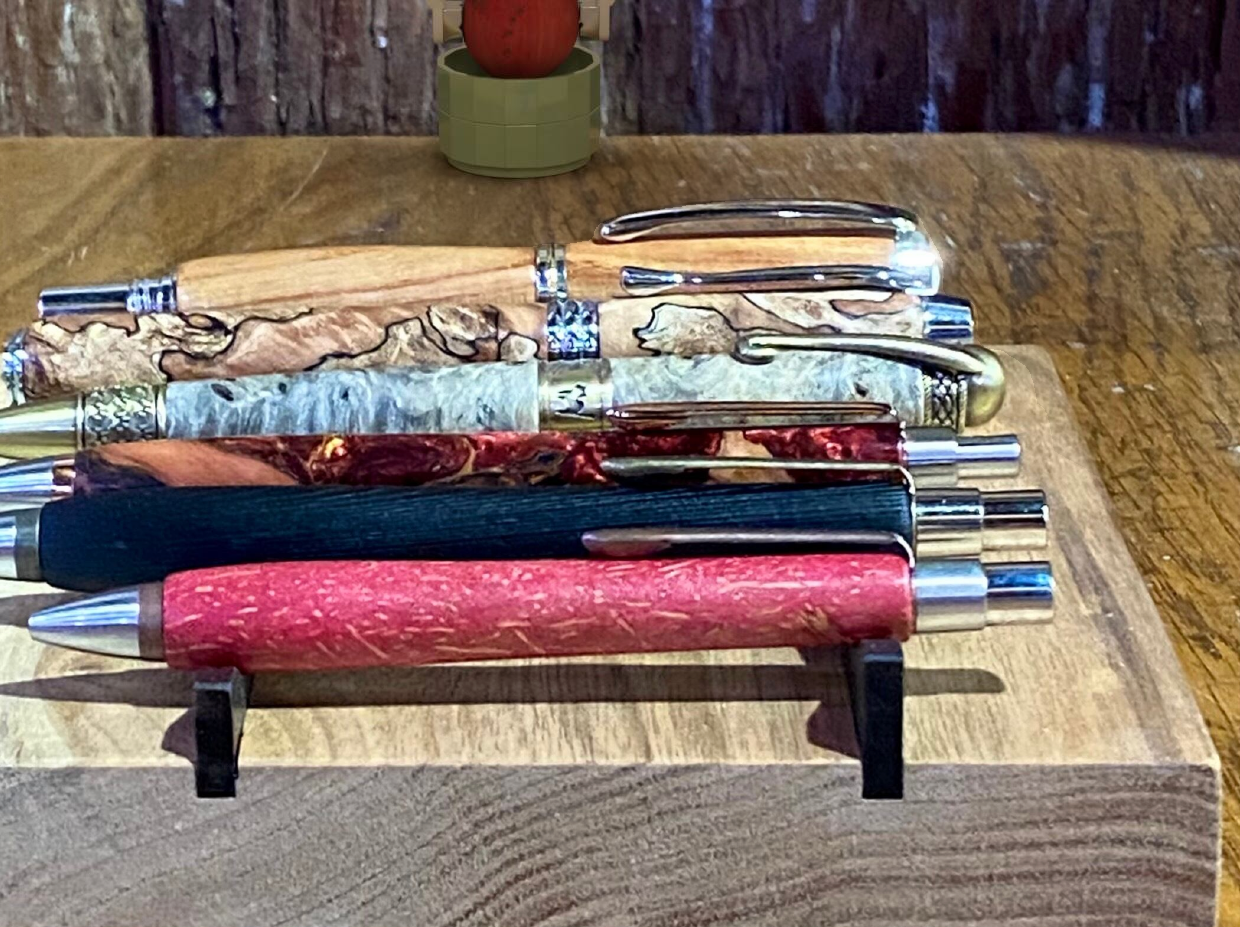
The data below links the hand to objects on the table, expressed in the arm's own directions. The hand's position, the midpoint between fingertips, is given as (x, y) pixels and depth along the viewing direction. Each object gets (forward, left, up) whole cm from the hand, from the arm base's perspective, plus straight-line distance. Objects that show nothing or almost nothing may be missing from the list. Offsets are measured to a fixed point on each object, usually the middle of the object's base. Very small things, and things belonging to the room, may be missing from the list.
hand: (520, 40), depth 112 cm
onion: (0, 0, -3) cm, 3 cm away
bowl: (0, 0, -6) cm, 6 cm away
